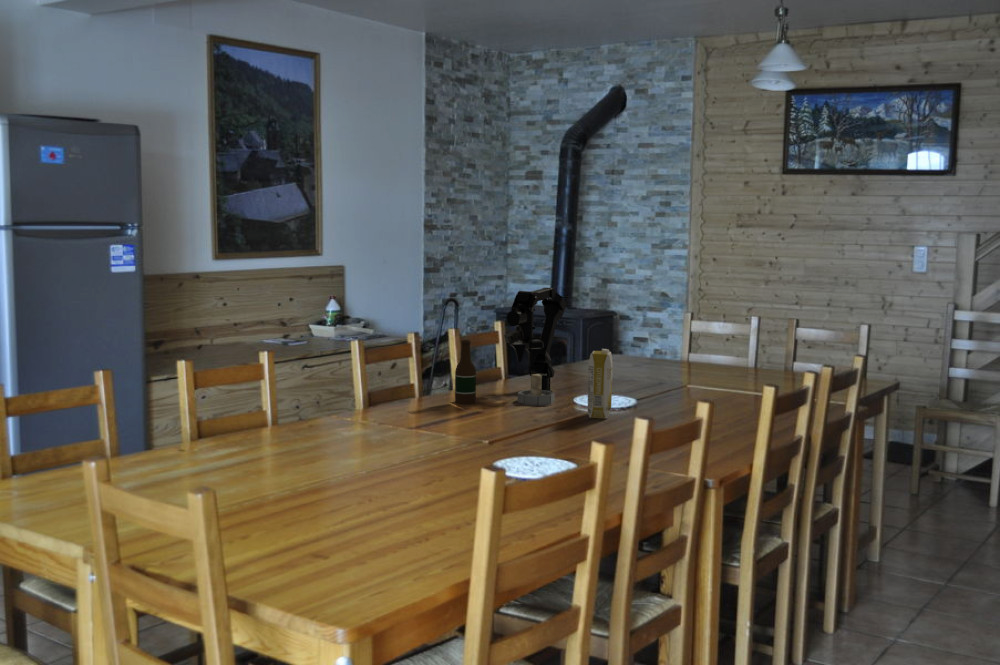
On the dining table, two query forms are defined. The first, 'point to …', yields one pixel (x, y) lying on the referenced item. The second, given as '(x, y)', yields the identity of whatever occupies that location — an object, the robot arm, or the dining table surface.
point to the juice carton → (600, 384)
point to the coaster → (498, 398)
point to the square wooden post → (536, 384)
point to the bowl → (536, 398)
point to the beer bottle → (465, 377)
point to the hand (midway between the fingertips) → (525, 363)
